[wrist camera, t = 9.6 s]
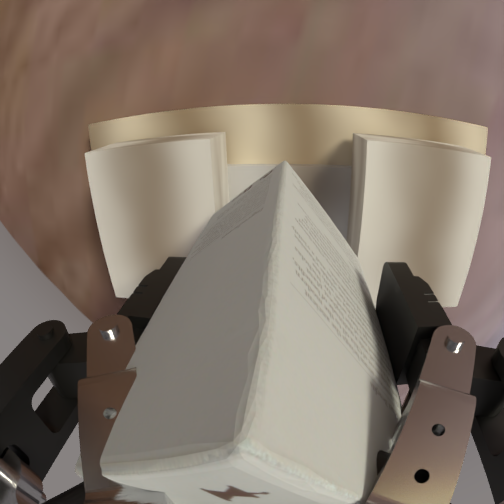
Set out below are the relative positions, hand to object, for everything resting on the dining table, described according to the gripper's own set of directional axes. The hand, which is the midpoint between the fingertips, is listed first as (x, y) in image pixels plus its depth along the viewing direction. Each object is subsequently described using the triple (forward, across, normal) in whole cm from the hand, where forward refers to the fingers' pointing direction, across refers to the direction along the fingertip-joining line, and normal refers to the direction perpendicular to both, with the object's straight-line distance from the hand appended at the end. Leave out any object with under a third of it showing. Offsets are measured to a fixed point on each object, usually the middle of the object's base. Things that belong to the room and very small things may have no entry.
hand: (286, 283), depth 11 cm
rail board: (+10, 0, 0) cm, 10 cm away
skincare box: (+4, 0, 0) cm, 4 cm away
